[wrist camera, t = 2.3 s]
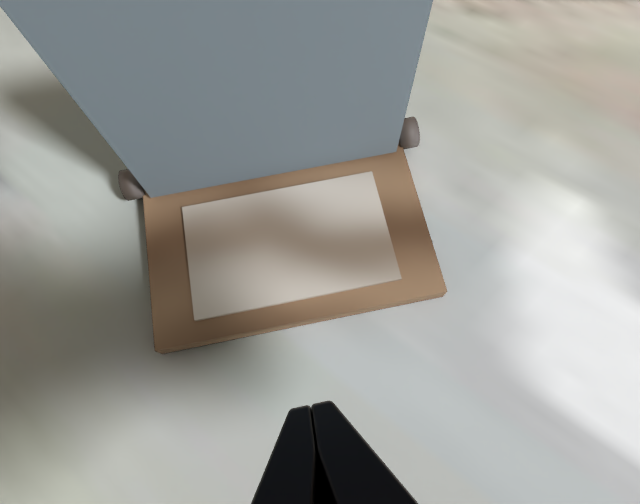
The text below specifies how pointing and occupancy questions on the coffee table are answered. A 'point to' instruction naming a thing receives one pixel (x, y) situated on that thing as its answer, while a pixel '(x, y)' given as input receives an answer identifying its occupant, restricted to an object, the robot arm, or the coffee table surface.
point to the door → (232, 80)
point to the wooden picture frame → (286, 249)
